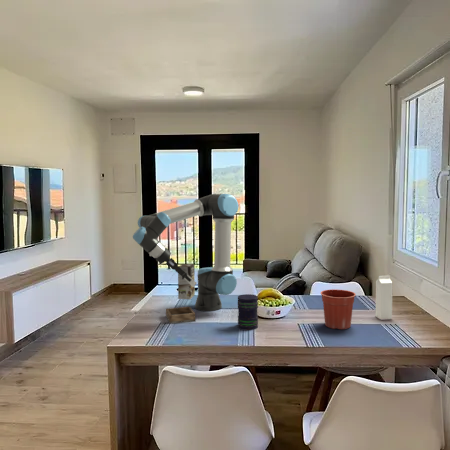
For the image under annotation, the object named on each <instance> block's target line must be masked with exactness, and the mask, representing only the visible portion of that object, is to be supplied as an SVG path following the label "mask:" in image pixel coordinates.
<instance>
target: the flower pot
mask: <svg viewBox="0 0 450 450" xmlns="http://www.w3.org/2000/svg"><path fill="white" fill-rule="evenodd" d="M320 295H321V301H322V305H323V316H324V325H325V327H328V329H333V330H335V329H338V330H347V329H349V328H351V325H352V318H353V317H352V316H353V309H354V302H355V297H356V296H357V295H356V293H355V292H353V291H350V290H348V289H347V290H346V289H335V288H334V289H333V288H332V289H325V290H321V291H320Z"/></svg>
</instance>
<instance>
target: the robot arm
mask: <svg viewBox="0 0 450 450" xmlns="http://www.w3.org/2000/svg"><path fill="white" fill-rule="evenodd" d="M238 210H239V202H238V200H237V198H236V197H235V196H234V195H232V194H229V193H213V194H209V195H206V196H203V197H200V198H197V199H195V200H194V201H193V202H189V203H187V204H183V205H180V206H175V207H172V208H170V209H166V210H163V211H162V210H161V211H159V212H155V213H153V214H149V215H142V216H140V217H139V218H138V220H137V226H138V229H136V230H135V232H134V233H133V234H132V239H133V240H134V242H136V243H137V244H138V246H140V247H141V248H142V249H143V250H145V252H147V253H148V254H149V257H153V258H154V259H155V261H156V262H158V263H159V264H160V265H162V264H164V263H165V262H166V263H165V265H166V266H168V268H170V269H172V271H173V270H174V271H175V272H176V273H177V274H178V273H179V274H180V275H181V276H182V277H183V278H182V279H185V280H186V281H187V282H188V283H189V284H190V285H191V286H192V287H194V286H196V285H197V297H196V301H195V303H194V306H195V307H194V309H195V310H198V311H203V312H212V311H218V310H221V309H222V306H223V305H222V304H223V303H222V300H221V298H220V296H228V295H231V294H233V292H234V291H235V290H236V288H237V285H238V282H237V278H236V277H235V275H234V269H233V268H232V267H231V246H232V245H231V243H232V241H231V239H232V237H231V236H232V235H231V234H232V222H233V221H234V220H235V215H236V214H237V212H238ZM197 216H199V217H203V216H212V220H213V221H214V259H213V260H214V264H213V266H210V267H209V266H208V267H202V268H199V269H198V270H197V275H196V276H197V281H196V280H195V281H194V280H193V279H192V278H191V277H190V276H189V275H188V274H187V273H185V272H184V271H183V270H182V269H181V268H180V267H179V266H180V265H179V264H178V263H177V262H176V261H175V260H174V258H172V257H170V256H171V254H172V253H171V251H170V250H169V249H168V248H167V247H165V245H164V244H163V243H162V242H161V241H159V239H158V238H159V237H160V236H161V234H162V233H163V232H164V231H165V230H166V229H167V228H168V227H169V225H172V224H174V223H178V222H181V221H183V220H187V219H191V218H193V217H197ZM184 273H185V274H184ZM183 274H184V275H183Z"/></svg>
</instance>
